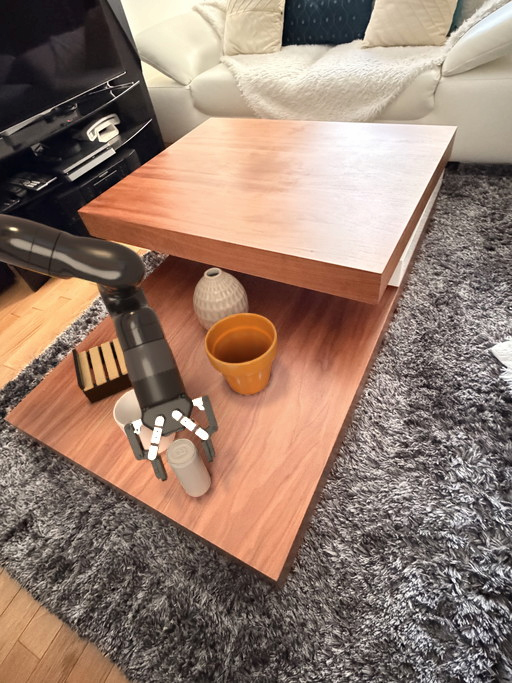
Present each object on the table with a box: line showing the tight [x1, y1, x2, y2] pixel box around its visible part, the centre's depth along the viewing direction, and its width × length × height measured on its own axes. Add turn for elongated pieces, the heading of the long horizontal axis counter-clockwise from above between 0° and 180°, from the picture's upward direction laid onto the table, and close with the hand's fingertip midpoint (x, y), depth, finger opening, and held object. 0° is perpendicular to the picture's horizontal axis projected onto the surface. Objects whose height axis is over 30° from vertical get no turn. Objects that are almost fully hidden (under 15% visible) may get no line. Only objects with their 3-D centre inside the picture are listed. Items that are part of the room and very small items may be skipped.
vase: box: [192, 267, 249, 332], centre depth 91 cm, size 13×13×17 cm
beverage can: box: [165, 437, 212, 498], centre depth 64 cm, size 5×5×12 cm
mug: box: [112, 388, 177, 455], centre depth 74 cm, size 9×12×11 cm
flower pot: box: [203, 312, 279, 396], centre depth 79 cm, size 14×14×13 cm
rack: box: [71, 337, 133, 405], centre depth 88 cm, size 14×12×7 cm
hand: (188, 470), depth 62 cm, fingers open, 7 cm apart
